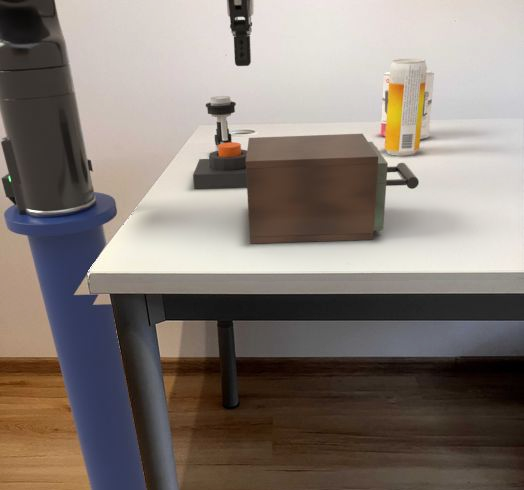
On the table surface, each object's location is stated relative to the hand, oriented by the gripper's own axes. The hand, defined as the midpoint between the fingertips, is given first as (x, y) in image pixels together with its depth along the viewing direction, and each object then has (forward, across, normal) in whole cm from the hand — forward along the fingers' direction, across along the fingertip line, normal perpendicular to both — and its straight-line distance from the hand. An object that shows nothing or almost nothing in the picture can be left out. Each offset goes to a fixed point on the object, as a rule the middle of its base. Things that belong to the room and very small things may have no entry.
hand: (243, 65), depth 84 cm
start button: (+13, -3, -3) cm, 14 cm away
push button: (+17, -19, -5) cm, 26 cm away
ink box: (+17, -31, +30) cm, 46 cm away
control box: (+17, -3, -3) cm, 17 cm away
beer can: (+17, -18, +27) cm, 36 cm away
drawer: (+16, +20, +13) cm, 28 cm away
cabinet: (+17, +20, +9) cm, 27 cm away
